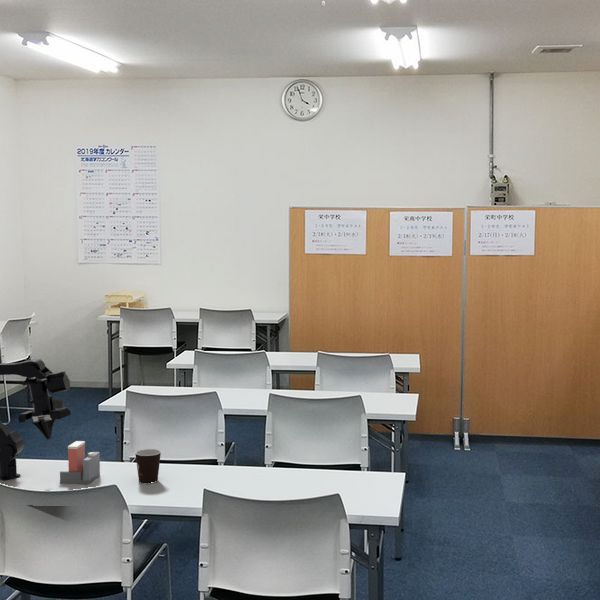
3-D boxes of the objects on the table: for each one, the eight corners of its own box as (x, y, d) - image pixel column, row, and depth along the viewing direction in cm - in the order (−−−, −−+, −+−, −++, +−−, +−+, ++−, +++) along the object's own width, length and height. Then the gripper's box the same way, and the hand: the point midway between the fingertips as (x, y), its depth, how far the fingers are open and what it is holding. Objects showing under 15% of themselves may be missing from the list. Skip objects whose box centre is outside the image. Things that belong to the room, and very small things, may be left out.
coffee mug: (158, 484, 260) (157, 455, 259) (132, 484, 260) (132, 455, 259) (164, 474, 271) (164, 446, 271) (140, 474, 272) (140, 446, 271)
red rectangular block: (68, 477, 262) (67, 446, 261) (76, 471, 269) (76, 440, 268) (77, 477, 261) (76, 446, 260) (85, 471, 268) (85, 441, 267)
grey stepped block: (59, 483, 261) (59, 456, 260) (71, 474, 270) (71, 448, 270) (89, 484, 259) (89, 457, 259) (100, 475, 269) (100, 449, 269)
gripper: (76, 387, 269) (85, 430, 270) (35, 391, 276) (44, 433, 278) (55, 395, 259) (64, 440, 260) (13, 399, 266) (22, 443, 267)
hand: (48, 438), depth 266 cm, fingers closed
